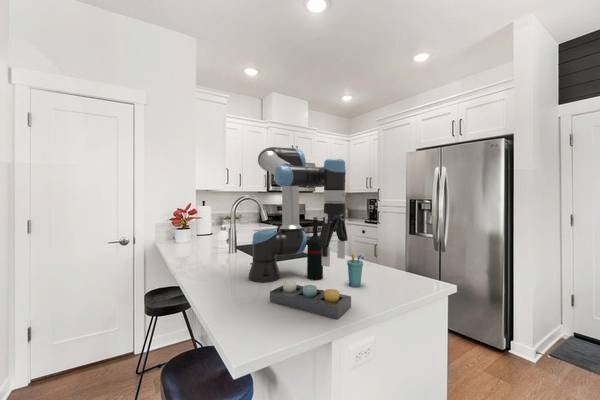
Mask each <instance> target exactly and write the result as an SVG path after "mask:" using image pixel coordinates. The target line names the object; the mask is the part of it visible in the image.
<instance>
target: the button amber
mask: <svg viewBox="0 0 600 400" xmlns="http://www.w3.org/2000/svg"><path fill="white" fill-rule="evenodd" d="M323 291H324V301H327V302H332V303H338V302H339V294H340V291H339V290H337V289H335V288H334V289H333V288H329V289H328V288H327V289H325V290H323Z"/></svg>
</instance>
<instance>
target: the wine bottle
mask: <svg viewBox="0 0 600 400" xmlns="http://www.w3.org/2000/svg"><path fill="white" fill-rule="evenodd" d="M312 217H313V220H312V236H311V237H309V238H308V239H307V245H306V247H307V252H306V253H307V254H306V257H307V258H306V261H307V262H306V264H307V265H306V278H307V280H310V281H322V280H323V279H324V277H323V276H324V266H322V247H320V246H319V245H318V243H319V238H320V236H318V233H319V231H318V225H319V224H318V223H319V220H318V219H319V218H318V216H312Z"/></svg>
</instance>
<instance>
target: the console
mask: <svg viewBox="0 0 600 400" xmlns="http://www.w3.org/2000/svg"><path fill="white" fill-rule="evenodd" d="M303 286H304V285H298V284H296V291H295V292H294V293H288V292H284V291H283V284H282V285H280V286H279V287H276V288H274V289H273V290H270V291H269V302H270V303H273V304H276V305H281V306H284V307H289V308H292V309H295V310H296V309H297V310H299V311H303V312H308V313H311V314H314V315H318V316H319V315H320V316H324V317H326V318H330V319H335V320H339V319H340V318H341V317H342V316H344V314H345V313H346V312H348V310H350V308H352V296H351V295H347V294H343V293H339V302H338V303H332V302H327V301H324V291H325V290H323V289H318V288H317V296H316V297H314V298H310V297H306V296H303Z"/></svg>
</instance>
